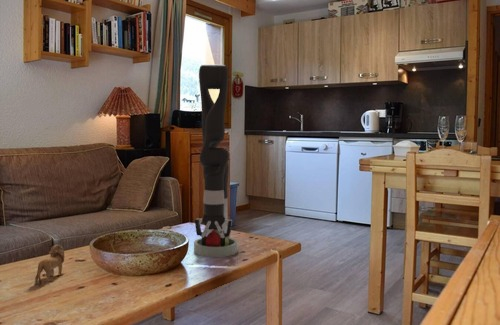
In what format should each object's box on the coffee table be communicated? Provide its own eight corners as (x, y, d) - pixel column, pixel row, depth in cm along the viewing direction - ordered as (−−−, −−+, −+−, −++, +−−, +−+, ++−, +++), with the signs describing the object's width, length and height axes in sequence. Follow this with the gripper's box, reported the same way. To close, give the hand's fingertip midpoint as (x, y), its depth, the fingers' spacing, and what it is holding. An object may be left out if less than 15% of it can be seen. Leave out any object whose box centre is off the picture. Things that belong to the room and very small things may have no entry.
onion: (213, 253, 156) (214, 231, 156) (202, 251, 160) (202, 229, 159) (224, 250, 161) (224, 229, 160) (212, 247, 164) (213, 226, 164)
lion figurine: (51, 270, 139) (50, 243, 139) (68, 270, 140) (67, 243, 139) (30, 287, 125) (30, 256, 124) (49, 286, 125) (49, 256, 124)
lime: (216, 247, 168) (217, 234, 168) (229, 247, 168) (229, 235, 168) (214, 250, 163) (214, 237, 163) (227, 251, 163) (228, 238, 163)
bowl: (199, 246, 172) (199, 236, 171) (239, 248, 170) (239, 237, 170) (189, 258, 156) (190, 246, 155) (234, 260, 154) (234, 248, 154)
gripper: (234, 200, 162) (234, 245, 163) (196, 199, 164) (196, 243, 165) (231, 204, 155) (231, 250, 156) (192, 202, 156) (192, 249, 157)
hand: (213, 246), depth 160 cm, fingers closed on onion, 6 cm apart
